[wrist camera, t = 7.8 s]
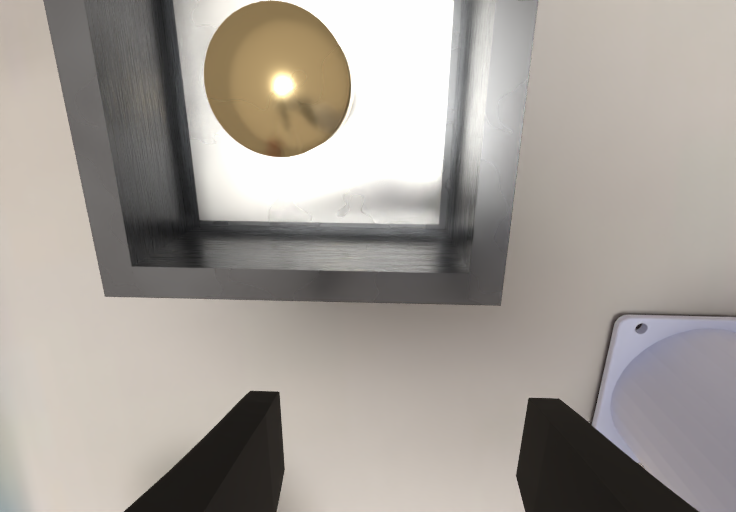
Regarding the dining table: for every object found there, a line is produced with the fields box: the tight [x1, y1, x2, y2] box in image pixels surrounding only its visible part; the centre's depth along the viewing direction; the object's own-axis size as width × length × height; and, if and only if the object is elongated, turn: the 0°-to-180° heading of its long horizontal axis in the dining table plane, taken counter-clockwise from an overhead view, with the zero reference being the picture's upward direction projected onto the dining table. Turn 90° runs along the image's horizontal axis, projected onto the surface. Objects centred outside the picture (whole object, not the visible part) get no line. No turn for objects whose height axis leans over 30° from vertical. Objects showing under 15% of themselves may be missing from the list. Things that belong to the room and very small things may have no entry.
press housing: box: [43, 0, 538, 306], centre depth 14 cm, size 12×12×6 cm
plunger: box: [173, 0, 454, 225], centre depth 12 cm, size 9×9×6 cm
